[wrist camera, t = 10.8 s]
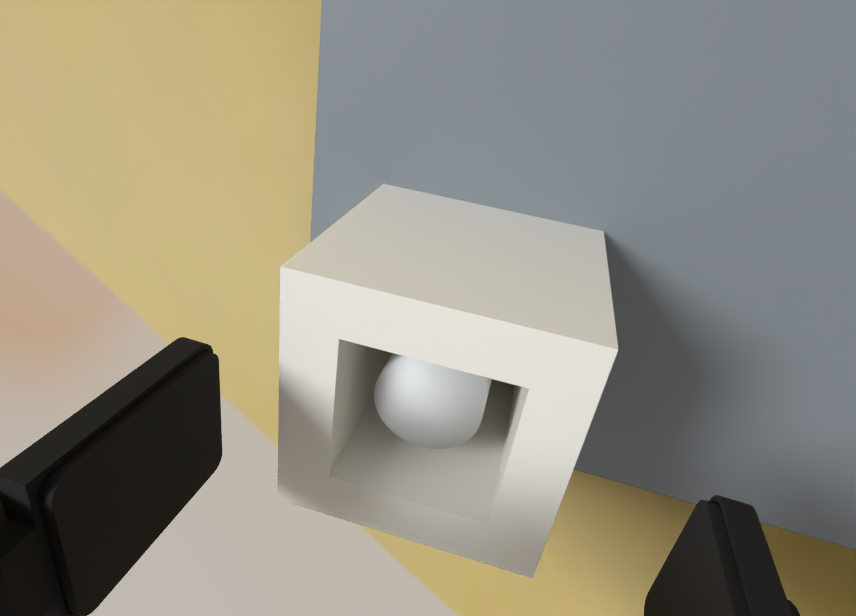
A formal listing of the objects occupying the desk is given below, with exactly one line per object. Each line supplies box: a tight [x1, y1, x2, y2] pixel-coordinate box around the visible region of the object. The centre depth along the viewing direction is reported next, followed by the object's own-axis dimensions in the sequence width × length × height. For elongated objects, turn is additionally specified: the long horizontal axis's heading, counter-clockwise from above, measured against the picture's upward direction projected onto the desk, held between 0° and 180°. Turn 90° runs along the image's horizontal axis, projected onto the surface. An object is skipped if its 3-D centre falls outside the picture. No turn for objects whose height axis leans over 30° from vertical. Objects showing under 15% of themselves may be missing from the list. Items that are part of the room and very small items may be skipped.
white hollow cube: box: [278, 184, 618, 578], centre depth 13 cm, size 6×6×6 cm
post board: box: [310, 0, 856, 550], centre depth 13 cm, size 14×19×6 cm
